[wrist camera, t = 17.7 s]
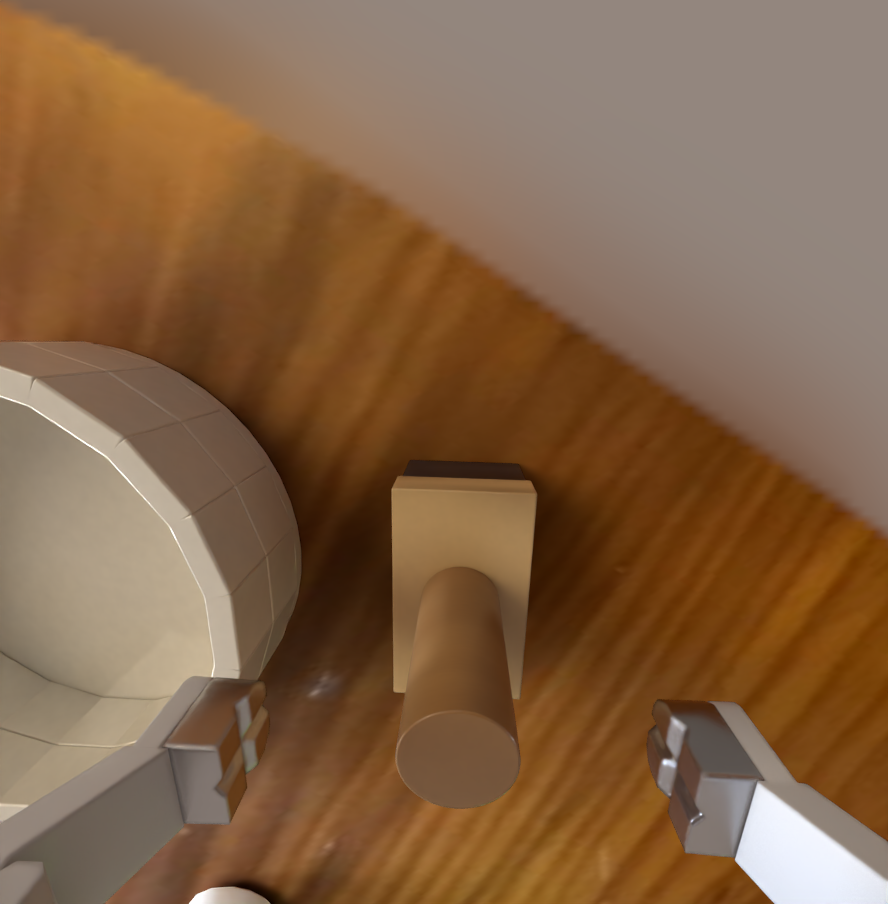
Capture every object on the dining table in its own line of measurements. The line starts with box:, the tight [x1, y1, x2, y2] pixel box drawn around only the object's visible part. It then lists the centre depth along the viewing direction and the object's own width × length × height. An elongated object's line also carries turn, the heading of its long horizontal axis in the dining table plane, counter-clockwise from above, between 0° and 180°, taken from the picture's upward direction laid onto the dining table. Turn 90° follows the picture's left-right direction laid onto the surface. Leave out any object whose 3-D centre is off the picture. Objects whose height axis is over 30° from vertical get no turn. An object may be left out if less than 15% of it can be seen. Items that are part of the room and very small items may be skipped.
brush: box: [392, 460, 537, 809], centre depth 12 cm, size 7×4×9 cm, turn 179°
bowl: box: [0, 340, 301, 821], centre depth 15 cm, size 16×16×5 cm
